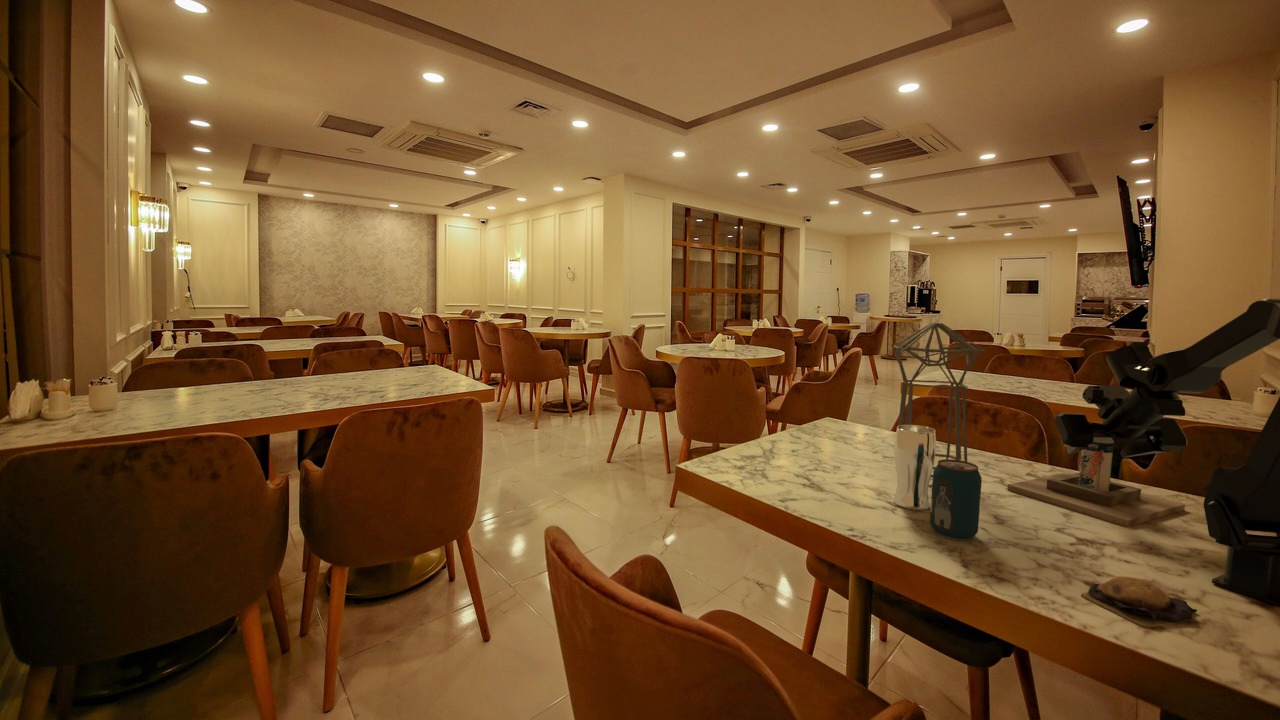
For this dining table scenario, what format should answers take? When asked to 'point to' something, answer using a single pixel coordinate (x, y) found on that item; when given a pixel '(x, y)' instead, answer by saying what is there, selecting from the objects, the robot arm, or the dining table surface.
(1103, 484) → the beer can
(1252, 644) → the dining table surface
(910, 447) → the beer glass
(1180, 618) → the bread roll
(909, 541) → the dining table surface
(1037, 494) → the brown square frame
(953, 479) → the soda can
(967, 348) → the geometric lantern
